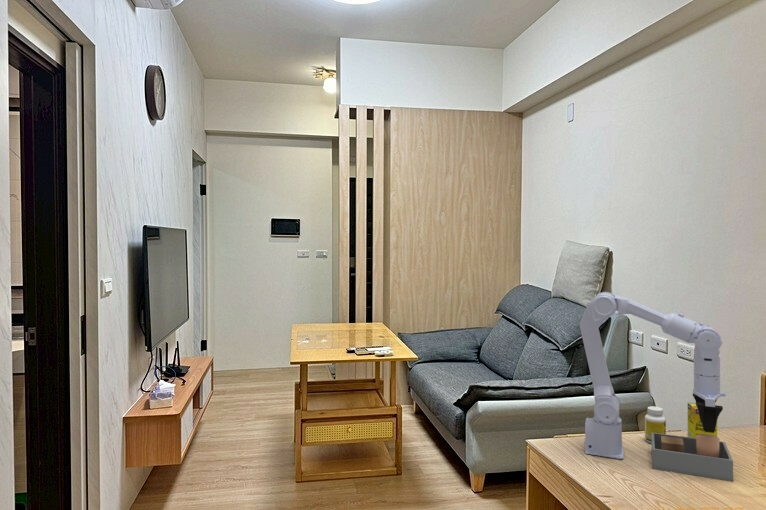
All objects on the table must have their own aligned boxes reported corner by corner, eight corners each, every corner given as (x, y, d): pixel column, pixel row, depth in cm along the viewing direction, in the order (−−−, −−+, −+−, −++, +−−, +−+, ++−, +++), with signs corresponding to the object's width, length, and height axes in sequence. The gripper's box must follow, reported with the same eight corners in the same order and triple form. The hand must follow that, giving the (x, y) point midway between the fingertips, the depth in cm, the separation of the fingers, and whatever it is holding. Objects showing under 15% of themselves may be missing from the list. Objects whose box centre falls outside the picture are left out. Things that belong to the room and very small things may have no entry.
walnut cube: (661, 461, 134) (661, 442, 134) (661, 454, 139) (661, 435, 139) (683, 464, 132) (683, 445, 132) (682, 457, 136) (682, 438, 136)
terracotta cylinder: (697, 466, 131) (697, 438, 131) (695, 458, 135) (695, 432, 135) (720, 469, 128) (720, 442, 128) (717, 462, 133) (717, 435, 133)
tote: (652, 468, 132) (652, 449, 132) (651, 450, 143) (651, 432, 143) (733, 481, 124) (732, 460, 124) (725, 460, 136) (724, 441, 136)
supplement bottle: (668, 445, 146) (668, 411, 146) (648, 444, 147) (647, 410, 147) (662, 439, 152) (662, 405, 152) (642, 437, 153) (642, 405, 153)
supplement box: (694, 446, 146) (694, 408, 145) (687, 439, 151) (686, 402, 151) (718, 448, 144) (717, 409, 144) (709, 440, 150) (709, 403, 150)
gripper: (729, 382, 123) (730, 438, 123) (721, 369, 136) (721, 420, 136) (695, 379, 126) (695, 434, 127) (690, 367, 139) (690, 416, 140)
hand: (707, 427), depth 132 cm, fingers open, 7 cm apart
